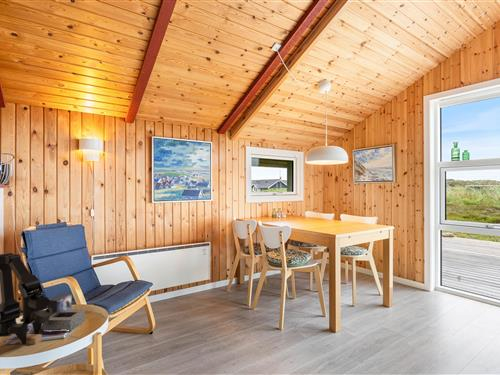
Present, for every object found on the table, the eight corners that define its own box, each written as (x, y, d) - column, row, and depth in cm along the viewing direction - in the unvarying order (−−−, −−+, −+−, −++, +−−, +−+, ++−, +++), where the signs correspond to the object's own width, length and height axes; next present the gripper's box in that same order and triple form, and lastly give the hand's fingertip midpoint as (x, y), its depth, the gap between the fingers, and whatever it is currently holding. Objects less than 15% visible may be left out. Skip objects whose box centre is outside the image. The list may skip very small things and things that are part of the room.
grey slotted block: (42, 332, 143) (42, 320, 143) (59, 321, 155) (59, 310, 155) (70, 331, 142) (70, 319, 142) (84, 320, 154) (84, 309, 154)
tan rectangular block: (19, 344, 132) (19, 337, 132) (26, 340, 136) (26, 333, 136) (35, 344, 131) (35, 338, 131) (41, 340, 135) (41, 334, 135)
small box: (57, 319, 157) (56, 300, 157) (47, 318, 158) (46, 299, 158) (72, 311, 167) (72, 293, 167) (63, 310, 168) (62, 292, 169)
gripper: (31, 314, 124) (32, 350, 124) (60, 298, 143) (61, 329, 143) (6, 315, 124) (7, 350, 124) (38, 298, 143) (39, 329, 143)
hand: (30, 339), depth 134 cm, fingers open, 7 cm apart
